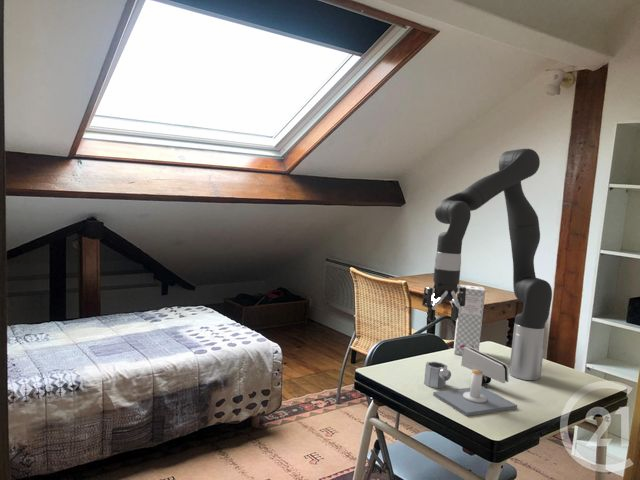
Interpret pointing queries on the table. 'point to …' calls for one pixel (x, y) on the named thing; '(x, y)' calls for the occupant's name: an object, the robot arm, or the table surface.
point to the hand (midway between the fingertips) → (442, 320)
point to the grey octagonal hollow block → (436, 375)
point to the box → (469, 320)
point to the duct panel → (474, 398)
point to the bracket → (485, 365)
